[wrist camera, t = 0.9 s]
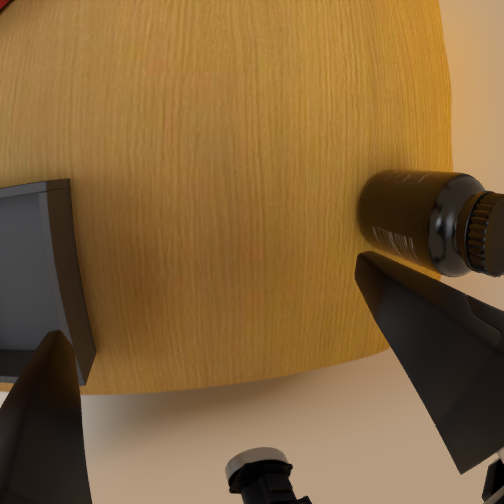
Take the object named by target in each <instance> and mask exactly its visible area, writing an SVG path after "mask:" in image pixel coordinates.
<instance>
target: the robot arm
mask: <svg viewBox="0 0 504 504" xmlns="http://www.w3.org/2000/svg"><path fill="white" fill-rule="evenodd" d="M355 280H356V283H357V285H358V287H359V289H360V291H361V293H362V295H363V297H364V299H365V301H366V303H367V305H368V307H369V309H370V311H371V313H372V315H373V317H374V319H375V321H376V323H377V325H378V326H379V328H380V330H381V331H382V333H383V335H384V336H385V338H386V339H387V341H388V343H389V344H390V346H391V348H392V349H393V351H394V353H395V354H396V356H397V358H398V359H399V361H400V363H401V365H402V366H403V368H404V370H405V372H406V373H407V375H408V377H409V378H410V380H411V382H412V384H413V385H414V387H415V389H416V391H417V392H418V394H419V396H420V398H421V400H422V402H423V403H424V405H425V407H426V409H427V411H428V413H429V414H430V416H431V418H432V420H433V422H434V423H435V424H436V425H435V426H436V428H437V430H438V431H439V433H440V435H441V437H442V439H443V441H444V443H445V445H446V447H447V449H448V451H449V453H450V455H451V457H452V459H453V461H454V463H455V465H456V467H457V469H458V471H459V472H460V474H461V475H462V474H463V473H465V472H467V471H468V470H470V469H472V468H473V467H475V466H476V465H478V464H479V463H481V462H482V461H484V460H486V459H487V458H489V457H490V456H491V455H493V454H494V453H496V452H497V454H498V456H499V457H498V458H497V459H496V460H495V461H494V462H493V463H492V464H490V465H489V466H488V471H487V476H486V481H485V485H484V489H483V493H482V499H483V501H484V503H483V504H504V311H502V310H500V309H497V308H495V307H493V306H490V305H488V304H486V303H484V302H481V301H479V300H477V299H475V298H473V297H471V296H469V295H466V294H465V293H463V292H461V291H459V290H456V289H454V288H452V287H450V286H448V285H446V284H444V283H442V282H439V281H437V280H435V279H433V278H431V277H429V276H427V275H424V274H422V273H420V272H418V271H416V270H413V269H411V268H409V267H407V266H405V265H402V264H400V263H398V262H396V261H393V260H391V259H389V258H387V257H384V256H382V255H380V254H377V253H375V252H373V251H366V252H362V253H360V254H358V256H357V261H356V268H355ZM86 467H87V466H86V458H85V450H84V439H83V427H82V412H81V397H80V389H79V381H78V373H77V365H76V355H75V350H74V348H73V346H72V345H71V343H70V342H69V340H68V339H67V338H66V336H65V335H64V333H63V332H62V331H61V330H54V331H50V332H48V333H47V334H46V336H45V337H44V338H43V340H42V341H41V343H40V344H39V346H38V347H37V349H36V350H35V352H34V353H33V355H32V357H31V358H30V360H29V361H28V363H27V364H26V366H25V368H24V369H23V371H22V372H21V374H20V376H19V377H18V379H17V380H16V382H15V384H14V385H13V387H12V389H11V390H10V392H9V394H8V396H7V397H6V399H5V401H4V402H3V404H2V406H1V408H0V504H92V499H91V493H90V487H89V481H88V474H87V468H86ZM292 469H293V465H292V464H276V463H245V464H244V465H243V467H242V468H241V470H240V472H239V473H238V475H237V477H236V478H235V480H234V482H233V483H232V485H231V487H230V488H229V492H230V493H231V494H241V495H242V499H243V502H244V504H312V503H311V501H310V499H309V498H308V496H305V497H303V498H301V499H298V500H297V499H296V497H295V494H294V492H293V490H292V488H293V487H292V486H291V483H290V481H289V478H288V474H289V473H290V472H291V470H292Z"/></svg>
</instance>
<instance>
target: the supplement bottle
mask: <svg viewBox="0 0 504 504" xmlns="http://www.w3.org/2000/svg"><path fill="white" fill-rule="evenodd" d="M359 222H360V226H361V229H362V232H363V234H364V235H365V237H366V239H367V240H368V241H369V242H370V243H371V244H372V245H373V246H374V247H376V248H378V249H380V250H382V251H384V252H387V253H389V254H392V255H394V256H397V257H399V258H402V259H404V260H407V261H409V262H412V263H414V264H417V265H419V266H422V267H424V268H427V269H429V270H432V271H434V272H437V273H439V274H442V275H445V276H448V277H459V276H463V275H465V274H467V273H469V272H471V271H475V272H478V273H484V274H486V275H489V276H492V277H500V276H501V275H504V194H498V193H495V192H492V191H486V190H485V188H484V187H483V185H482V184H481V183H480V182H479V181H478V180H476V179H475V178H474V177H472V176H470V175H468V174H464V173H456V172H440V171H419V170H387V171H383V172H381V173H379V174H377V175H376V176H374V177H373V178H372V179H371V180H370V181H369V183H368V184H367V185H366V187H365V189H364V191H363V193H362V195H361V199H360V203H359Z"/></svg>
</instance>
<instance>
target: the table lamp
mask: <svg viewBox="0 0 504 504" xmlns="http://www.w3.org/2000/svg"><path fill="white" fill-rule="evenodd" d="M8 1H9V0H0V9H1V8H2V7H3V6H4V5H5V4H6V3H7V2H8Z"/></svg>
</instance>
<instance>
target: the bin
mask: <svg viewBox="0 0 504 504" xmlns="http://www.w3.org/2000/svg"><path fill="white" fill-rule="evenodd" d="M54 330H61V331H62V332H63V333H64V335H65V336H66V338H67V339H68V340H69V342H70V343H71V345H72V346H73V348H74V350H75V355H76V365H77V373H78V381H79V386H85V385H86V382H87V379H88V376H89V373H90V370H91V367H92V364H93V361H94V358H95V355H96V349H95V345H94V341H93V336H92V332H91V328H90V324H89V319H88V314H87V310H86V305H85V300H84V294H83V289H82V283H81V278H80V272H79V265H78V259H77V252H76V244H75V236H74V227H73V217H72V206H71V193H70V179H58V180H48V181H41V182H34V183H28V184H22V185H16V186H11V187H5V188H0V382H3V383H15V382H16V380H17V379H18V377H19V376H20V374H21V372H22V371H23V369H24V368H25V366H26V364H27V363H28V361H29V360H30V358H31V357H32V355H33V353H34V352H35V350H36V349H37V347H38V346H39V344H40V343H41V341H42V340H43V338H44V337H45V336H46V334H47V333H48V332H50V331H54Z"/></svg>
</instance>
